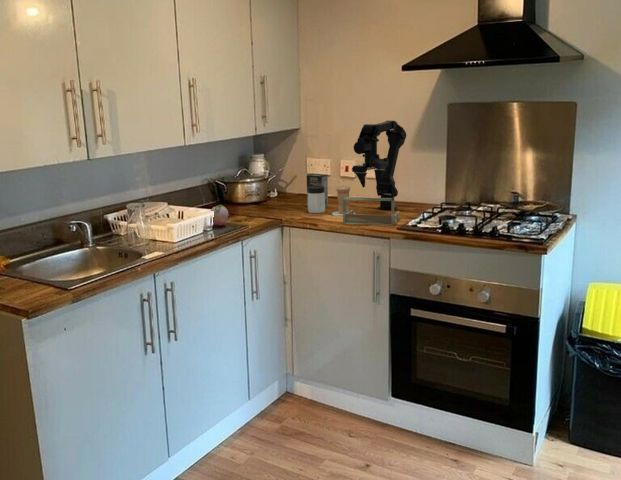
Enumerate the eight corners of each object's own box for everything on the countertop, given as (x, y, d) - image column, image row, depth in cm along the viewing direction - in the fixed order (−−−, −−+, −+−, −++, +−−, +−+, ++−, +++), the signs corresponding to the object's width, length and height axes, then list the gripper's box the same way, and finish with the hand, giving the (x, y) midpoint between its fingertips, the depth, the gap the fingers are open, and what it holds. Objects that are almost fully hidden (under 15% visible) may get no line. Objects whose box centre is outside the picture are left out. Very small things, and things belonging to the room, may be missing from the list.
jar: (313, 214, 301) (312, 188, 298) (304, 211, 307) (303, 187, 305) (329, 211, 305) (328, 186, 303) (319, 209, 312) (318, 185, 309)
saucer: (344, 211, 305) (344, 210, 305) (360, 214, 297) (360, 212, 296) (327, 214, 298) (326, 213, 298) (342, 217, 290) (342, 216, 290)
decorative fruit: (210, 224, 283) (209, 202, 281) (229, 223, 284) (228, 201, 282) (209, 228, 274) (207, 206, 272) (228, 228, 275) (227, 205, 273)
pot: (349, 211, 301) (348, 186, 298) (351, 214, 295) (350, 188, 292) (336, 212, 300) (335, 186, 297) (337, 214, 294) (337, 188, 291)
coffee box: (306, 207, 319) (305, 175, 316) (313, 205, 324) (312, 173, 321) (322, 208, 314) (321, 176, 311) (328, 206, 320) (328, 174, 316)
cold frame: (352, 217, 289) (351, 191, 286) (400, 219, 282) (400, 192, 280) (343, 224, 275) (342, 197, 272) (393, 226, 268) (393, 198, 265)
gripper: (368, 154, 279) (368, 190, 283) (397, 151, 290) (397, 185, 294) (351, 153, 288) (351, 187, 291) (380, 150, 299) (380, 183, 302)
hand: (370, 186), depth 294 cm, fingers open, 9 cm apart
